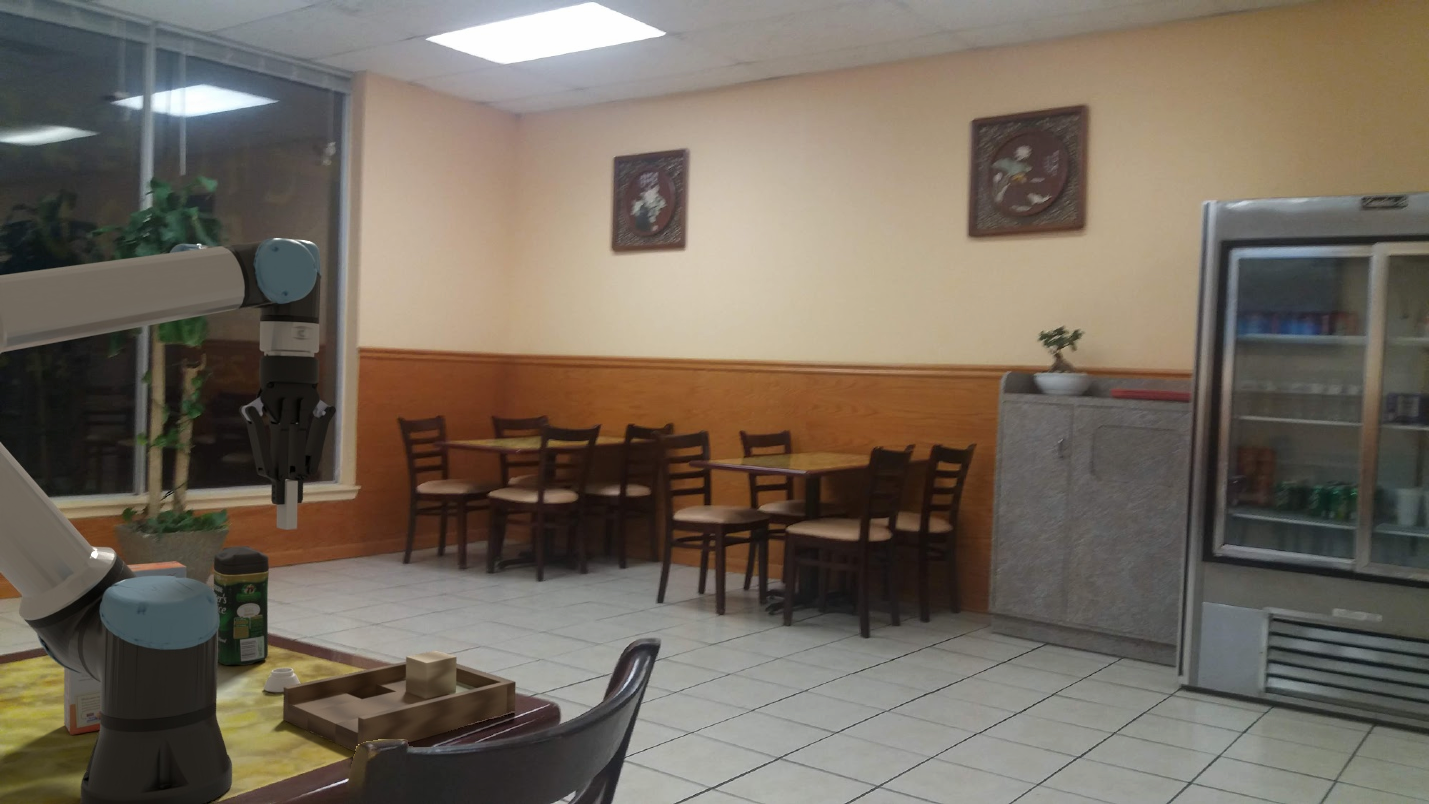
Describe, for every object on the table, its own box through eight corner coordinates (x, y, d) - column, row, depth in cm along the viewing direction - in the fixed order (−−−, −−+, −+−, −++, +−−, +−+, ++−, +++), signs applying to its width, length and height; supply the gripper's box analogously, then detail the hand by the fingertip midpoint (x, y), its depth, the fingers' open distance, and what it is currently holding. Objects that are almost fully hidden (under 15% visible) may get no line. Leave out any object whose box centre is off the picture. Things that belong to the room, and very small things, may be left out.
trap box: (362, 755, 134) (363, 719, 134) (283, 719, 147) (283, 687, 147) (514, 713, 153) (515, 681, 153) (432, 685, 166) (432, 656, 166)
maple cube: (426, 698, 150) (426, 663, 150) (405, 691, 153) (406, 656, 153) (455, 691, 154) (456, 656, 154) (435, 684, 157) (436, 650, 157)
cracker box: (176, 706, 152) (178, 559, 152) (186, 717, 147) (188, 565, 147) (61, 724, 143) (63, 568, 143) (68, 736, 139) (70, 575, 138)
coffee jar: (207, 656, 179) (208, 545, 179) (257, 650, 184) (258, 542, 184) (221, 669, 172) (222, 553, 171) (273, 662, 176) (274, 549, 176)
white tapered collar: (289, 695, 159) (305, 686, 164) (290, 675, 159) (306, 666, 164) (257, 693, 160) (274, 684, 165) (257, 674, 160) (274, 665, 165)
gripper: (256, 352, 139) (253, 535, 139) (348, 356, 149) (345, 527, 149) (229, 353, 144) (226, 529, 144) (319, 356, 153) (317, 521, 154)
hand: (286, 528), depth 146 cm, fingers closed
